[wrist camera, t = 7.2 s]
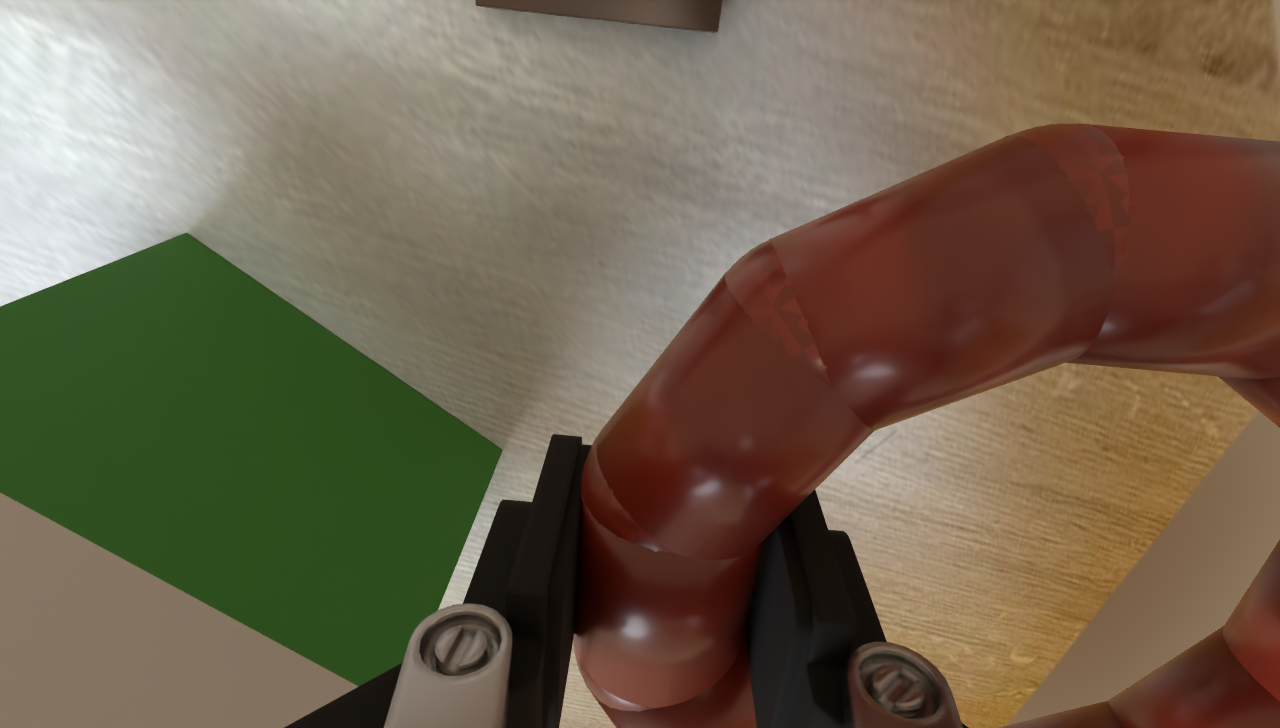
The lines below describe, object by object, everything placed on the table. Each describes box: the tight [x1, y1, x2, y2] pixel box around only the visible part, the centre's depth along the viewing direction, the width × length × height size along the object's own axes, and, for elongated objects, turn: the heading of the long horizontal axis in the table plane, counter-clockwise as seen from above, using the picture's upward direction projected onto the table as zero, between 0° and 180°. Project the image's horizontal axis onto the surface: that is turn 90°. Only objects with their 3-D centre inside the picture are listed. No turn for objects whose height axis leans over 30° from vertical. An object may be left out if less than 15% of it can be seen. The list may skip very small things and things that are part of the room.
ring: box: [573, 124, 1280, 728], centre depth 11 cm, size 15×15×3 cm
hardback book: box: [0, 233, 503, 728], centre depth 23 cm, size 18×7×24 cm, turn 50°
